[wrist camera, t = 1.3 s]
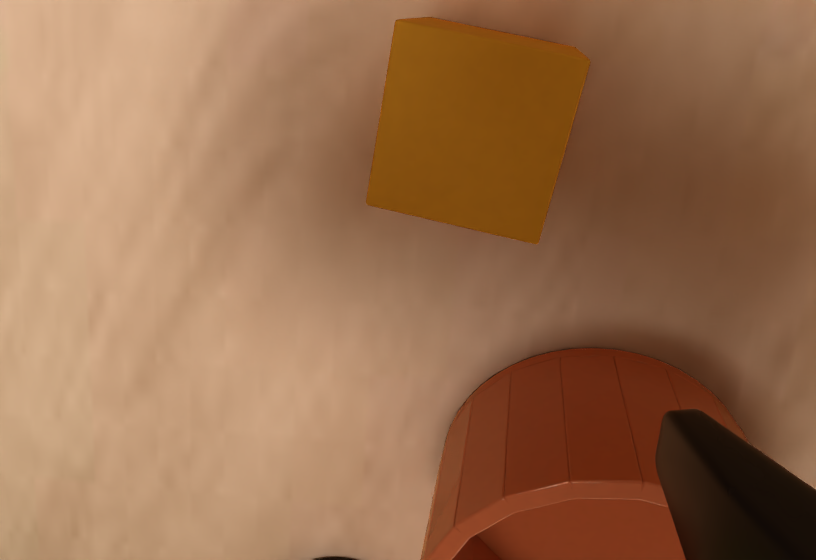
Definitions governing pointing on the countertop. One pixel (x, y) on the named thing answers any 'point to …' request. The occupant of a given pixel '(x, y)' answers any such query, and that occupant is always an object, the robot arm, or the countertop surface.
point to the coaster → (333, 559)
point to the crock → (563, 461)
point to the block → (474, 126)
